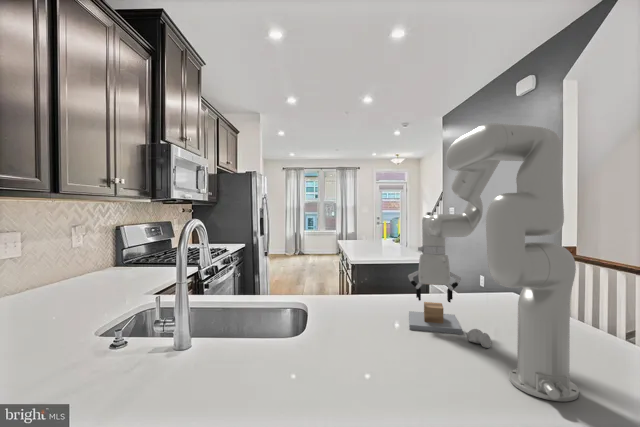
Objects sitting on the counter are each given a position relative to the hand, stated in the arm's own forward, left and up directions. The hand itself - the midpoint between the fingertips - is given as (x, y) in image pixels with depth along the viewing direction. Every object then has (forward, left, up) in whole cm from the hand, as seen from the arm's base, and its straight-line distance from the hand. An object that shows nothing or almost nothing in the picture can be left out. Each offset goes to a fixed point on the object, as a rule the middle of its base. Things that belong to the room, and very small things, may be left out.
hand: (434, 300), depth 114 cm
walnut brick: (0, 0, -7) cm, 7 cm away
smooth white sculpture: (-15, -11, -9) cm, 20 cm away
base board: (0, 0, -8) cm, 8 cm away
